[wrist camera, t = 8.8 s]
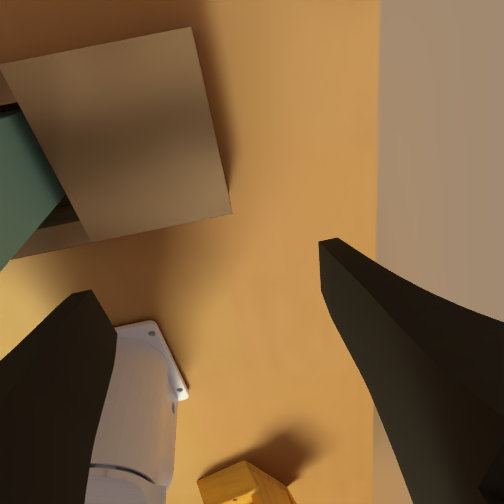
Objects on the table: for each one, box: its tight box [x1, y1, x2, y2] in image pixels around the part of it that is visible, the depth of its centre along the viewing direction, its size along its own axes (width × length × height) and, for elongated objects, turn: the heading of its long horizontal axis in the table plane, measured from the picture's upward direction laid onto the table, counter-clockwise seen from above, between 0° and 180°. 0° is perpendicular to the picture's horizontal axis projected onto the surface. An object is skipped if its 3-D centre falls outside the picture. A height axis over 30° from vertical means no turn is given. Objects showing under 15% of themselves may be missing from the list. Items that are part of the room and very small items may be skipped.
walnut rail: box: [0, 27, 232, 260], centre depth 15 cm, size 8×20×2 cm, turn 99°
